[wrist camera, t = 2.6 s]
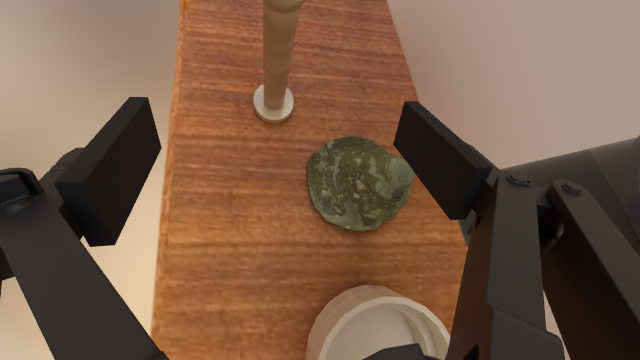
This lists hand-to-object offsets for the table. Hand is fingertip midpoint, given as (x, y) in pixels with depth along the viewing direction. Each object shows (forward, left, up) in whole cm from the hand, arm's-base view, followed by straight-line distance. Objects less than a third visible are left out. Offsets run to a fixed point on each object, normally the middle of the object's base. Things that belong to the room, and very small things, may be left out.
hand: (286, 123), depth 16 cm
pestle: (+7, -4, -17) cm, 18 cm away
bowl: (-21, 0, -17) cm, 27 cm away
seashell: (-5, -8, -17) cm, 19 cm away
